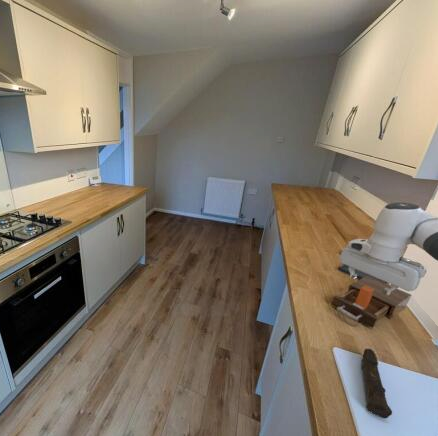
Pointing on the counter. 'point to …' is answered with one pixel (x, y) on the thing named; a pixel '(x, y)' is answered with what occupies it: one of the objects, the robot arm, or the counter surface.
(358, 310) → the drawer
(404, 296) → the cabinet
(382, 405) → the dark brown elongated piece
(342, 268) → the tray
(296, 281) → the counter surface
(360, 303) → the orange and white box
